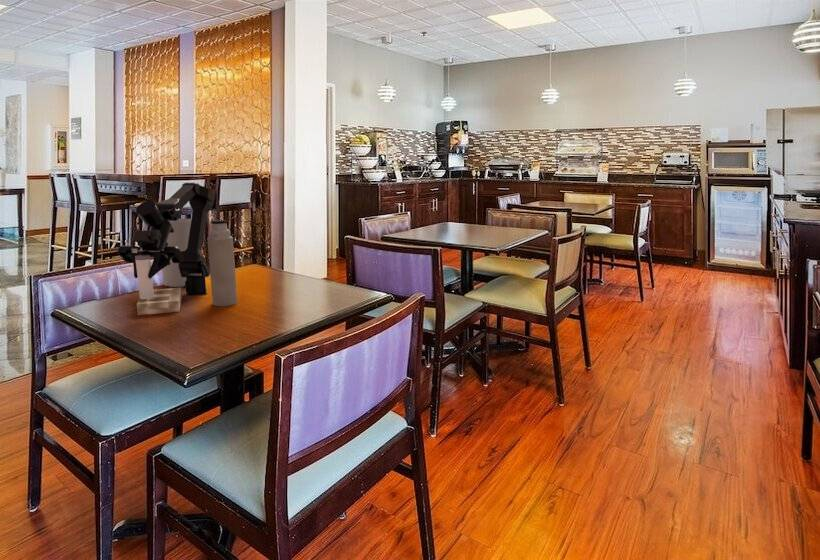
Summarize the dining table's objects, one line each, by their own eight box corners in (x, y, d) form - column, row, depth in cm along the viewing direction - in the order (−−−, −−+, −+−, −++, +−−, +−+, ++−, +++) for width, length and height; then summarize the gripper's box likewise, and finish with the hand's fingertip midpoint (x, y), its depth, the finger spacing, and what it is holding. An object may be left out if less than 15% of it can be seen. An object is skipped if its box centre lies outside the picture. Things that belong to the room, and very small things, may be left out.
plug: (154, 295, 168) (150, 254, 165) (153, 298, 164) (149, 256, 161) (140, 296, 166) (135, 254, 163) (139, 299, 163) (134, 257, 160)
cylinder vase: (201, 280, 218) (196, 218, 213) (193, 287, 206) (187, 221, 201) (169, 281, 217) (163, 218, 211) (159, 288, 205) (152, 222, 199)
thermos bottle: (222, 299, 188) (216, 218, 182) (242, 301, 185) (236, 219, 179) (207, 305, 180) (200, 221, 174) (227, 307, 178) (220, 221, 172)
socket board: (181, 297, 191) (180, 283, 190) (179, 311, 172) (178, 296, 171) (144, 300, 187) (142, 286, 186) (137, 315, 168) (136, 299, 167)
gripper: (116, 219, 164) (98, 262, 156) (175, 219, 163) (160, 262, 155) (134, 241, 174) (117, 282, 166) (190, 241, 172) (176, 283, 164)
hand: (142, 277), depth 162 cm, fingers closed on plug, 4 cm apart
